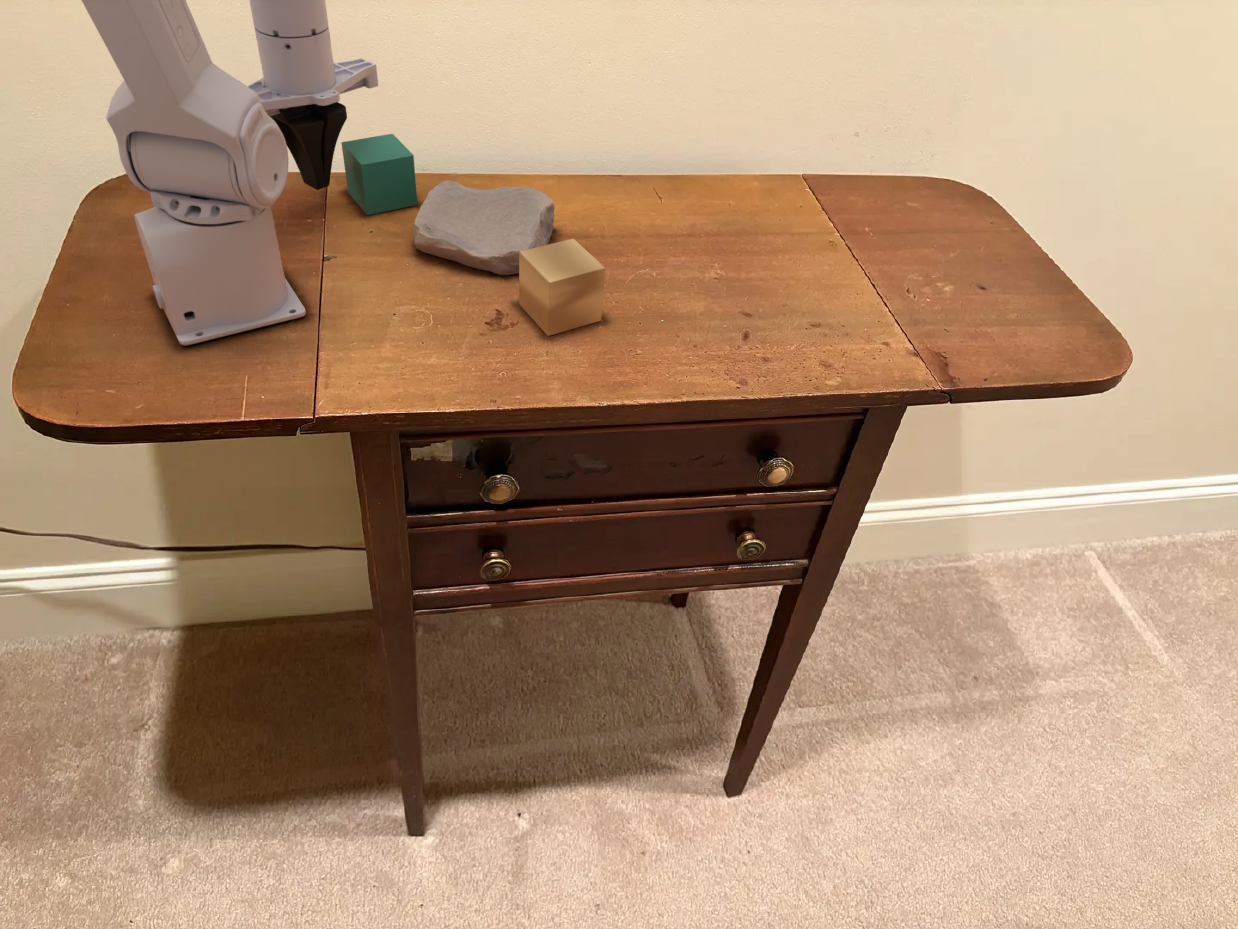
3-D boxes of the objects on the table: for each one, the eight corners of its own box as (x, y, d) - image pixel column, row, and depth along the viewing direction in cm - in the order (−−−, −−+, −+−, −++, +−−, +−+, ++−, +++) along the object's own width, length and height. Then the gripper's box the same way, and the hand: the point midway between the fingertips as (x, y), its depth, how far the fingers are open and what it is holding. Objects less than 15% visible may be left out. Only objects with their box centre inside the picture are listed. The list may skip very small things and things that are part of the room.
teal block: (367, 215, 85) (360, 164, 81) (347, 192, 88) (341, 141, 84) (417, 205, 87) (413, 154, 84) (397, 182, 90) (392, 132, 87)
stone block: (542, 296, 80) (558, 221, 86) (539, 254, 76) (556, 178, 82) (408, 284, 81) (433, 210, 87) (398, 241, 77) (426, 167, 83)
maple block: (547, 336, 73) (549, 282, 70) (518, 304, 76) (519, 251, 73) (601, 320, 75) (605, 267, 72) (571, 290, 78) (573, 237, 75)
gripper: (242, 61, 68) (275, 227, 77) (395, 20, 76) (408, 174, 86) (187, 34, 71) (225, 197, 80) (340, -2, 79) (358, 149, 89)
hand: (316, 184), depth 83 cm, fingers closed
